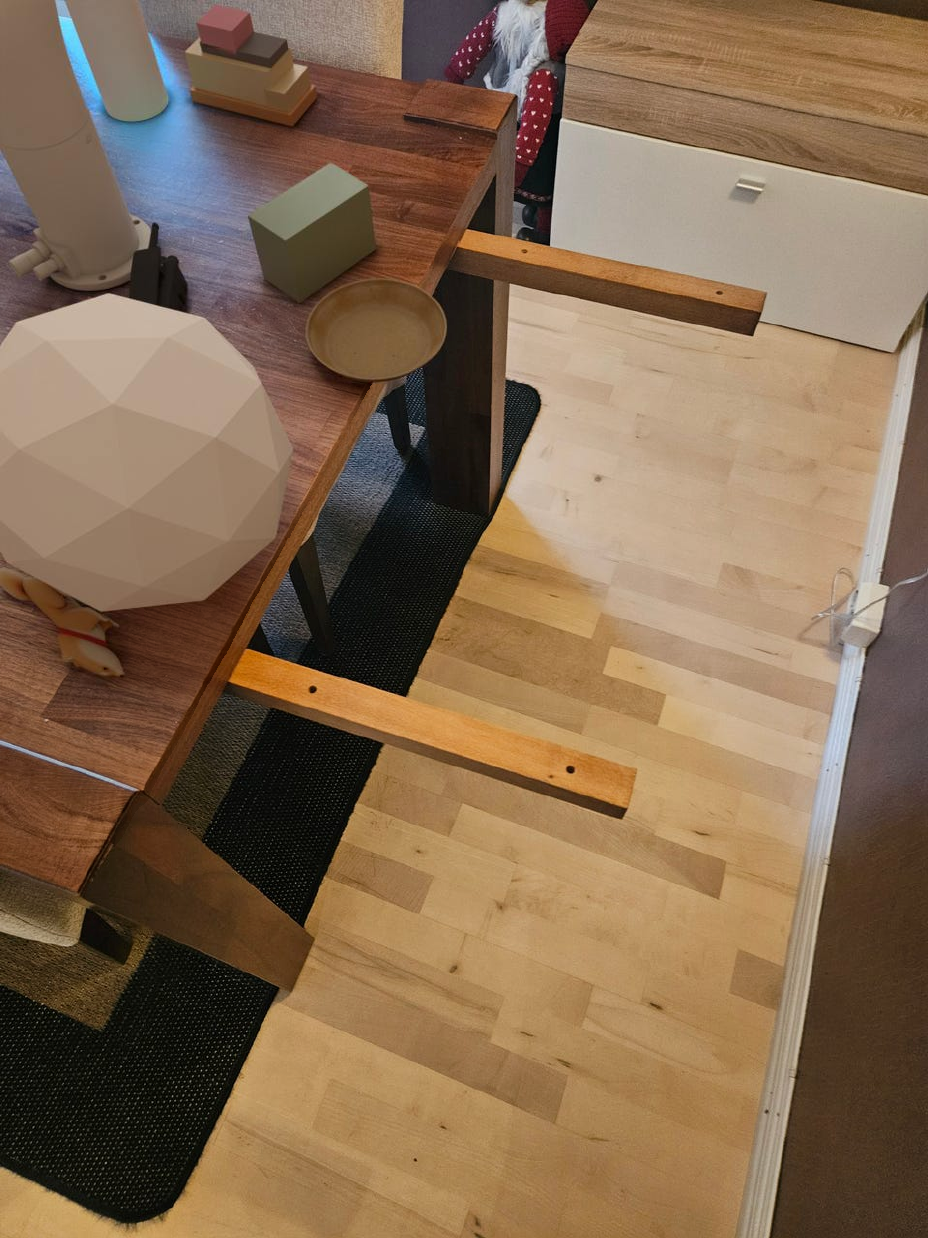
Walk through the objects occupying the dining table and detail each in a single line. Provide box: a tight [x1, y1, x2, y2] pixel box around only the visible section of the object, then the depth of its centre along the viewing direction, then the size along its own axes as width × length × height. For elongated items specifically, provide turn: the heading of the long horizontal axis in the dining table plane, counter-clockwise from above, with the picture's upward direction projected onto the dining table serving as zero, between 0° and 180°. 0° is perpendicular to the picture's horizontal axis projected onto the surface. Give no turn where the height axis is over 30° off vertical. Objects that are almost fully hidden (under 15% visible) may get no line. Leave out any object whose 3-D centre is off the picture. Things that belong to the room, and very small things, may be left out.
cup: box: [64, 0, 169, 122], centre depth 104 cm, size 8×8×16 cm
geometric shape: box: [0, 292, 294, 613], centre depth 67 cm, size 24×25×25 cm
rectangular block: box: [247, 162, 377, 304], centre depth 93 cm, size 12×6×8 cm, turn 137°
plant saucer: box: [305, 277, 448, 383], centre depth 89 cm, size 15×15×3 cm
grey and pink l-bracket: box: [195, 4, 289, 68], centre depth 105 cm, size 10×5×3 cm, turn 67°
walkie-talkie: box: [128, 221, 189, 313], centre depth 92 cm, size 6×6×20 cm
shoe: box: [184, 36, 318, 127], centre depth 109 cm, size 15×7×6 cm, turn 67°
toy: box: [0, 567, 125, 679], centre depth 73 cm, size 3×17×5 cm
